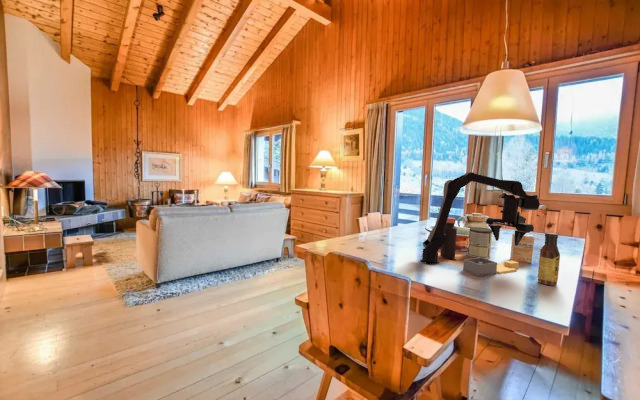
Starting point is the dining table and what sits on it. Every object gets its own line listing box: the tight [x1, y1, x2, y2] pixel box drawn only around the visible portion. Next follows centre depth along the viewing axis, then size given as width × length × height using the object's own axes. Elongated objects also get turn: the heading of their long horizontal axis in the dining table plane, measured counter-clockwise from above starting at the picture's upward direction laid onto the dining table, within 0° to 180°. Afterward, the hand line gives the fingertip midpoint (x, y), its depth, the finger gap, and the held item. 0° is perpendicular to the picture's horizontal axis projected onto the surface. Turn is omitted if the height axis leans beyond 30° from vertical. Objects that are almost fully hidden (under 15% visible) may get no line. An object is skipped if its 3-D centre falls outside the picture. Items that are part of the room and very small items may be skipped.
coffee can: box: [467, 226, 493, 260], centre depth 153 cm, size 10×10×14 cm
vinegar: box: [440, 216, 458, 260], centre depth 148 cm, size 7×7×20 cm
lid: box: [496, 259, 520, 275], centre depth 133 cm, size 16×8×3 cm, turn 112°
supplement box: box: [509, 233, 535, 264], centre depth 145 cm, size 8×5×13 cm, turn 68°
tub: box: [462, 257, 498, 278], centre depth 127 cm, size 10×8×5 cm
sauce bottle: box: [537, 232, 561, 287], centre depth 116 cm, size 7×6×20 cm
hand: (506, 243), depth 134 cm, fingers open, 9 cm apart
